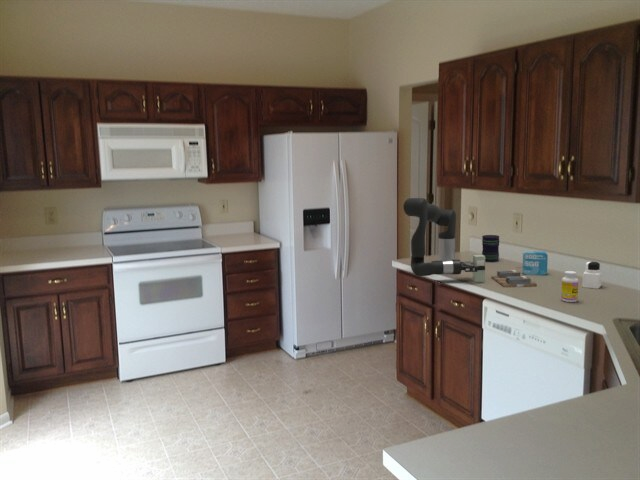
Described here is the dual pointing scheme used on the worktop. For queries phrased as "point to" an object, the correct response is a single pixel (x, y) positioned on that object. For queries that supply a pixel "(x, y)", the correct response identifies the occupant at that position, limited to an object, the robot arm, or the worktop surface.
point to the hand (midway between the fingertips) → (482, 266)
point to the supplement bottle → (569, 287)
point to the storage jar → (490, 248)
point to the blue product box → (535, 263)
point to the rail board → (503, 282)
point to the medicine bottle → (592, 275)
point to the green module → (480, 274)
